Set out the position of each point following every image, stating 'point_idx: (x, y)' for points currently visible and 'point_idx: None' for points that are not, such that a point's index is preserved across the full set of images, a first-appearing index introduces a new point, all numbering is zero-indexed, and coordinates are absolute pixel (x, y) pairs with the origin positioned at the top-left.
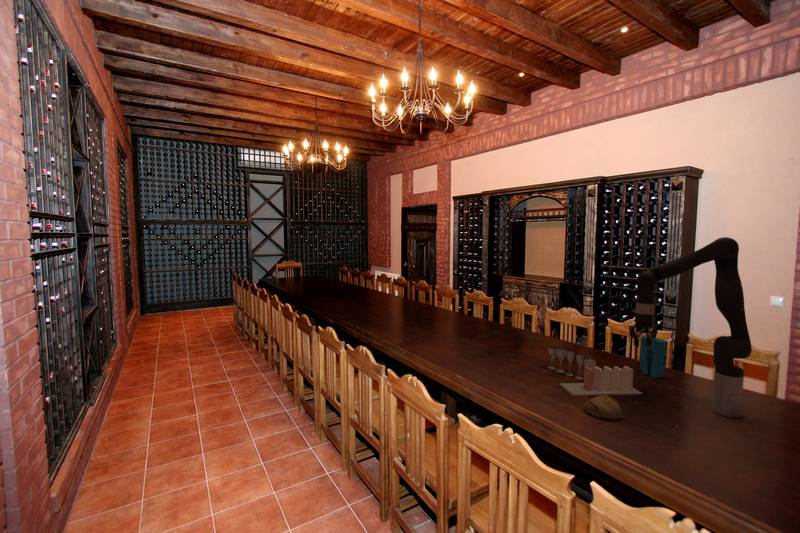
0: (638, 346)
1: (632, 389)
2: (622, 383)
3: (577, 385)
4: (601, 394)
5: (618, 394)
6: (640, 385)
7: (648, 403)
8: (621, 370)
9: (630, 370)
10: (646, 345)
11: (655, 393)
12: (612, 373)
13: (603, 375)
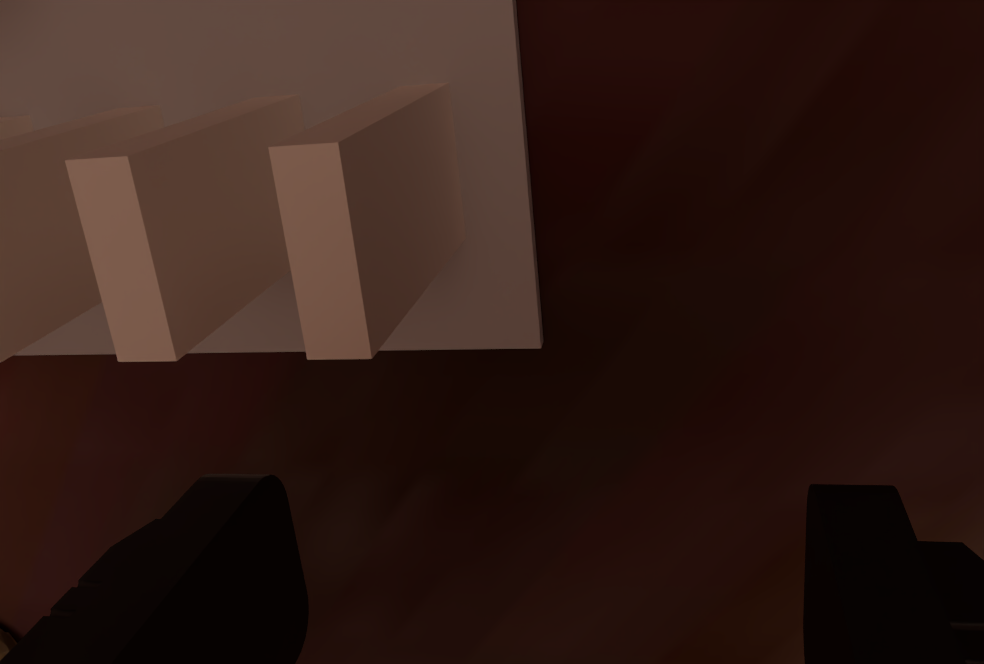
0: (292, 643)
1: (476, 232)
2: (286, 272)
3: None
4: (34, 351)
5: (231, 348)
6: (743, 17)
7: (461, 564)
8: (149, 354)
9: (322, 351)
10: (811, 516)
11: (759, 321)
12: (30, 337)
13: (11, 138)
